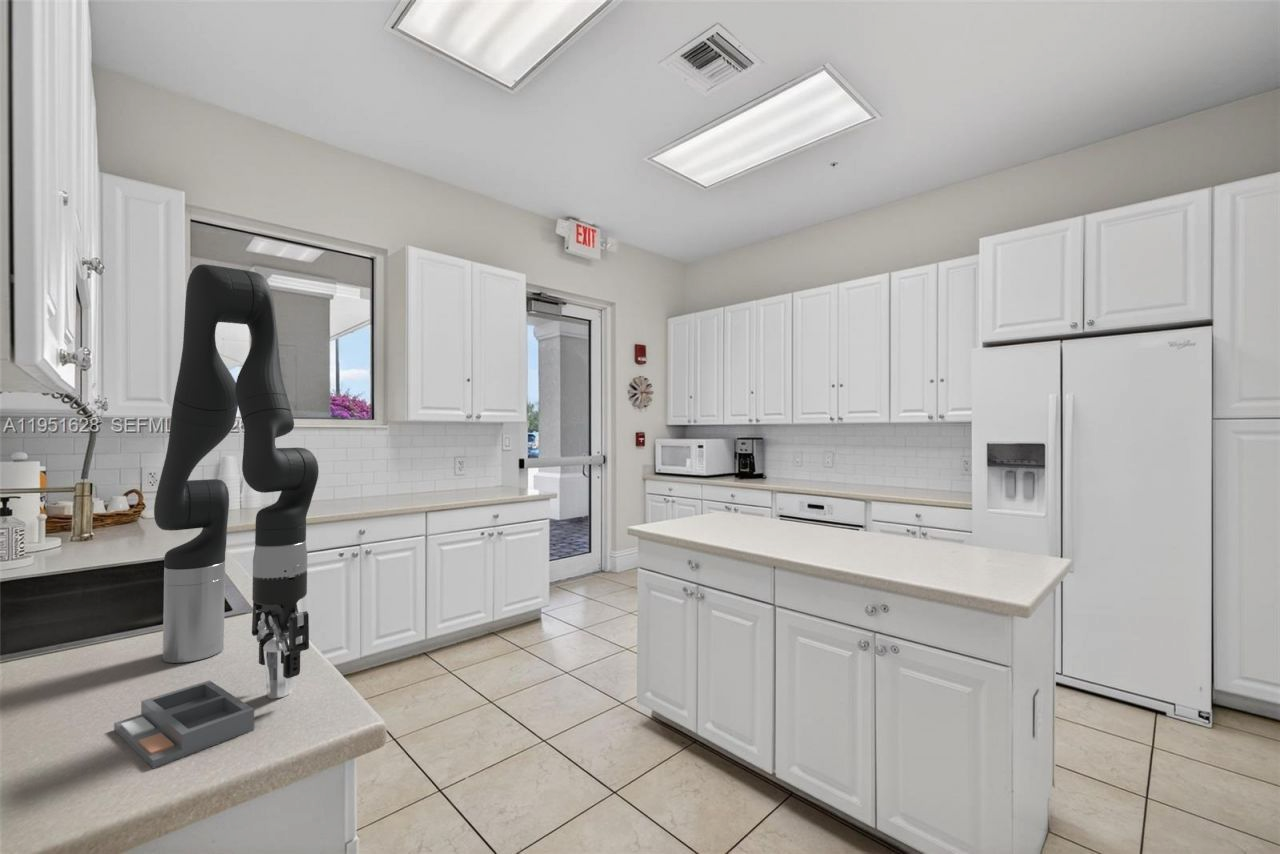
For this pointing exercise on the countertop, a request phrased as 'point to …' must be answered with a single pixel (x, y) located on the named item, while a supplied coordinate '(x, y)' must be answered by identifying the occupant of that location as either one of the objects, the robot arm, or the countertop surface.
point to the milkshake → (275, 670)
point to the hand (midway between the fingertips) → (279, 669)
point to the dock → (185, 722)
